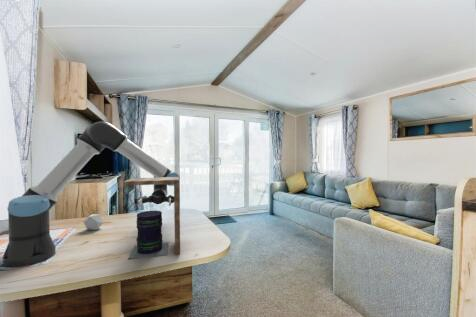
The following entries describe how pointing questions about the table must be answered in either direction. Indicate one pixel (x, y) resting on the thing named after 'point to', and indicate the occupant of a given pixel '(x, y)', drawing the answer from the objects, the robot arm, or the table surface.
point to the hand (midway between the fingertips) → (154, 203)
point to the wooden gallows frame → (131, 183)
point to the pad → (162, 252)
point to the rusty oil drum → (149, 232)
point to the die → (93, 222)
